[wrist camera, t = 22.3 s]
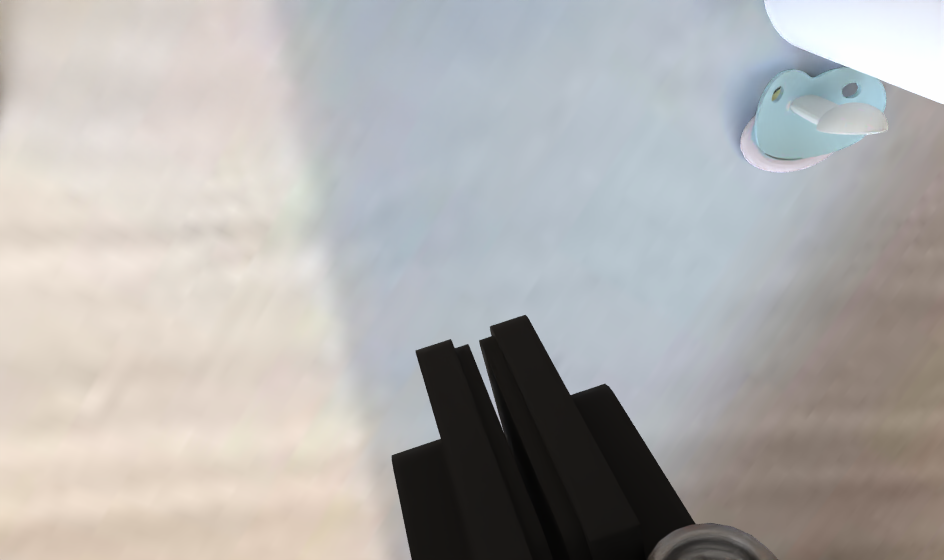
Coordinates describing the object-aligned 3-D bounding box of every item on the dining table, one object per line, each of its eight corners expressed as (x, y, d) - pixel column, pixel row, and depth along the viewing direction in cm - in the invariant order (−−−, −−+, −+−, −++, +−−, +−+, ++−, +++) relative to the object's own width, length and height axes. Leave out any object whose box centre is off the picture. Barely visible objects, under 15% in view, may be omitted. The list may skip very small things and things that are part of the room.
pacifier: (835, 162, 44) (866, 58, 41) (911, 211, 39) (953, 95, 36) (719, 172, 43) (742, 64, 40) (782, 223, 38) (814, 104, 34)
